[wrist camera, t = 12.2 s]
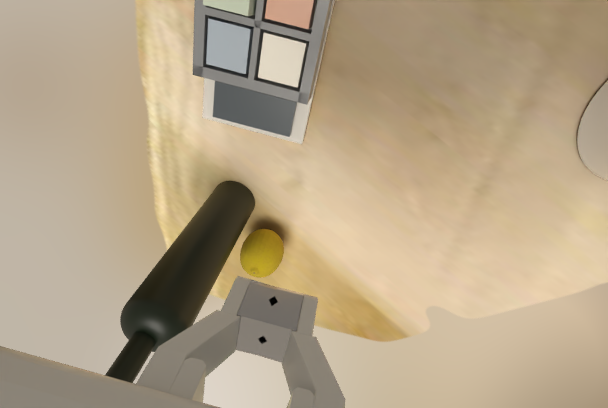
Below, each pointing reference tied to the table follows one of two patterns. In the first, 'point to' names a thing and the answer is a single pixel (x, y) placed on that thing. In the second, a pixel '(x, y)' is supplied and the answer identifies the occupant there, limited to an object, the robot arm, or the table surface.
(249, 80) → the keypad
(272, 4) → the key terracotta
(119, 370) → the wine bottle
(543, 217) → the table surface
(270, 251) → the lemon
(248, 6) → the key sage
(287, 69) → the key ivory
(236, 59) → the key slate
